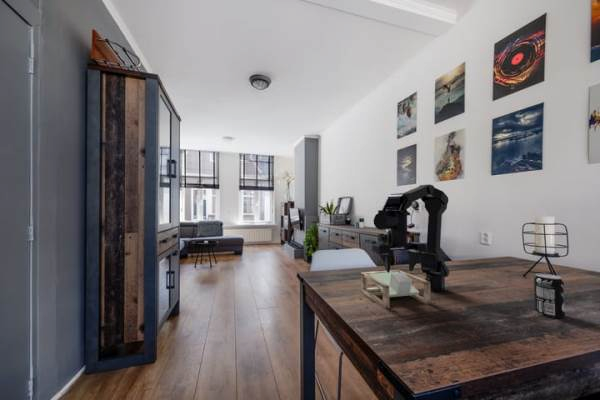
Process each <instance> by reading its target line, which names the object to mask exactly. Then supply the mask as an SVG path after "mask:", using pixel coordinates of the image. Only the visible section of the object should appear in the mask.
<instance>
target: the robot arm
mask: <svg viewBox="0 0 600 400" xmlns="http://www.w3.org/2000/svg"><path fill="white" fill-rule="evenodd" d="M418 200H421V202H423V203H424V208H425V210H426V212H427V214H428V215H427V216H428V217H427V219H428V220H427V231H426V232H427V233H426V244H425V243H422V242H418V241H410V242H409V241H408V236H409V235H410V234H411V232H410V231H408V216H411V213H410V211H408V209H409V208H411V207H412V206H413V203H414V202H416V201H418ZM448 204H449V197H448V195H447V194H446V193H445V192H444V191H443V190H440V189H438V188H437V187H435V186H434V185H432V184H431V183H430V184H420V185H419V186H417V187H414V188H412V189H409V190H408V191H405V192H400V193H391V194H388V196H387V199H386V200H385V203H384V205H383V207H382V208H381V209H377V212H378V213H376V214H375V216H374V217H373V226H374V227H375V228H376V229H378V230H388V232H387V234H386V235H385V234H384V233H377V243H373V245H372V246H371V251H372V252H373V253H374V252H375V254H377V255H379V257H380V259H381V260H382V262H383V266H384V268H385V271H387V272H388V273H389V272H390V270H391V265H392V264H391V263H392V254H390V253H391V251H406V253H407V256H408V271H410V272H413V270H414V268H415V266H416V265H417V262H418V261H419V264H420V269H421V272H422V273H424V274H425V279H424V280H426V281H428V282H430V292H433V293H439V292H447V291H449V289H447V288H446V282H445V281H446V280H445V279H446V278H448V277H449V276H450V275H449V274H450V268H448V266H447V264H446V263H445V256H444V255H443V252H442V251H441V238H442V237H441V234H442V219H443V218H442V217H443V214H444V213H445V212H446V211H447V209H448Z"/></svg>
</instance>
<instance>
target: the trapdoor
mask: <svg viewBox="0 0 600 400" xmlns="http://www.w3.org/2000/svg"><path fill="white" fill-rule="evenodd" d="M393 273H399V272H389V273H388V272H387V273H372V274H369V275H370V276H372V277H374V278H376V279H378V280H380V281H382V282H383V283H385V284H387V285H389V284H390V279H391V274H393ZM374 284H375V286H376V287H378V288H379V289H380V290H381V291H380V292H381V293H382V294H383V287H381V286H379V285H378V284H376V283H374ZM410 295H419V296H420V290H418V289H417V288H416V287H415V286H414V285H413V284H412V285H411V289H410V293H406V294H396V293H395V291H394V290H393V289H392V288H391V287H390V286H389V298H394V297H396V298H397V297H404V296H410Z"/></svg>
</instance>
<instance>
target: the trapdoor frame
mask: <svg viewBox="0 0 600 400" xmlns="http://www.w3.org/2000/svg"><path fill="white" fill-rule="evenodd" d="M390 272H399V273H404V274H406V275H407V276H408V277H409V278H410V279H411V280H412V281H415V282H418V283H420V284H422V285H423V296H422V295H420V294H419V295H409V296H410V297H412V298H415V300H417V301H419V302H422V303H424V304H425V305H431V301H432V297H431V295H432V294H431V292H432V291H431V290H430V282H428V281H426V280H425V279H423V278H421V277H418V276H417V275H416V276H415V275H413V274H411V273H408V272H406V271H404V270H401V269H392V270H391V269H390ZM372 273H387V271H386V270H378V271H364V272H363V271H362V272H360V292H362V293H363V294H364V295H365V296H367V297H369V299H371V300H372V301H374V302H375V303H377V304H378V305H380V306H381V307H382V308H383V309H390V297H389V285H387V284H385V283H383V282H382V281H380V280H378V279H376V278H374V277H372V276H370V275H369V274H372ZM367 280H369V281H370V282H372V283H374V284H375V283H376V284H378V285H379V286H381V287H383V293H382V299H381V298H380V297H378V296H376V295H375V294H373V292H374V293H375V292H381V290H380V289H379V288H378V287H377V286H376V287H368V288H367ZM376 284H375V285H376Z"/></svg>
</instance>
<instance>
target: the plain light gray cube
mask: <svg viewBox="0 0 600 400" xmlns="http://www.w3.org/2000/svg"><path fill="white" fill-rule="evenodd" d="M412 283H413V279H410V278H409V277H408V276H407V275H406V274H404V273H393V274H391V279H390V284H389V286H390V287H391V288H392V289H393V290H394V291H395V293H396V294H406V293H410V289H411V285H413V284H412Z"/></svg>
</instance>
